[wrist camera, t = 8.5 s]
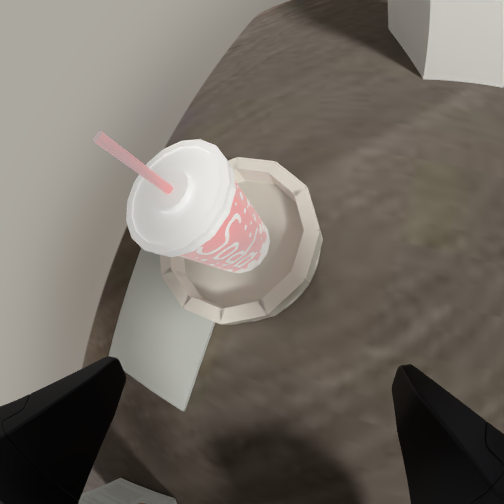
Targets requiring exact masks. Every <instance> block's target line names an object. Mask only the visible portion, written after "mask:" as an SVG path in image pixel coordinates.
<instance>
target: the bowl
mask: <svg viewBox="0 0 504 504" xmlns="http://www.w3.org/2000/svg"><path fill="white" fill-rule="evenodd" d="M228 162H229V164H230V165H231V167H232V168H233V172H234V179H235V181H236V183H237V184H238V186H239V187H240V189H241V190H242V192H243V193H244V195H245V196H246V198H247V199H248V201H249V202H250V204H251V205H252V207H253V208H254V210H255V211H256V213H257V214H258V216H259V217H260V219H261V220H262V222H263V223H264V225H265V226H266V228H267V229H268V233H269V238H270V244H269V248H268V253H267V255H266V256H265V257H264V259H263V260H262V262H261V263H260V264H259V265H258V266H256V267H255V268H253V269H252V270H251V271H247V272H242V273H235V272H230V271H226V270H222V269H219V268H216V267H212V266H209V265H206V264H203V263H199V262H196V261H193V260H190V259H186V258H183V257H180V256H175V257H169V256H164V255H160V265H161V275H162V277H163V279H164V280H165V282H166V284H167V285H168V287H169V288H170V290H171V291H172V293H173V294H174V296H175V298H176V299H177V301H178V302H179V304H180V305H181V307H183V308H184V309H186V310H188V311H190V312H193V313H195V314H197V315H199V316H202V317H204V318H206V319H209V320H211V321H214V322H216V323H218V324H239V323H244V322H252V321H259V320H263V319H266V318H269V317H273V316H274V315H277V314H278V313H280V312H282V311H283V310H285V309H286V308H288V307H289V306H290V305H291V304H293V303H294V302H295V301H296V300H297V299H298V298H299V297H300V296H301V295H302V294H303V293H304V291H305V290H306V288H307V287H308V286H309V284H310V282H311V280H312V278H313V277H314V275H315V272H316V269H317V267H318V264H319V259H320V254H321V245H322V241H323V237H322V234H321V230H320V227H319V222H318V219H317V216H316V213H315V209H314V206H313V203H312V199H311V196H310V193H309V191H308V188H307V186H306V185H305V184H303V183H302V182H301V181H300V180H298V179H297V178H296V177H295V176H294V175H292V174H291V173H290V172H289V171H287V170H286V169H285V168H284V167H282V166H281V165H280V164H278V163H277V162H275V161H268V160H260V159H251V158H241V157H238V158H237V157H236V158H234V159H231V160H228Z"/></svg>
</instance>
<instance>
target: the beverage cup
mask: <svg viewBox="0 0 504 504" xmlns="http://www.w3.org/2000/svg"><path fill="white" fill-rule="evenodd" d="M93 142H95V143H96V144H98V145H99V146H100V147H102V148H103V149H105V150H106V151H107V152H109V153H110V154H111V155H113V156H114V157H116V158H117V159H118V160H120V161H121V162H123V163H124V164H125V165H127V166H128V167H130V168H131V169H132V170H134V171H135V172H137V173H138V174H139V175H138V177H137V178H136V180H135V181H134V184H133V186H132V189H131V192H130V195H129V197H128V201H127V213H126V222H127V225H128V228H129V232H130V235H131V238H132V239H133V240H134V241H135V242H136V243H137V244H138V245H139V246H140V247H141V248H142V249H144V250H145V251H148V252H153V253H154V254H159V255H164V256H169V257H175V256H180V257H183V258H186V259H190V260H193V261H196V262H199V263H203V264H206V265H209V266H212V267H216V268H219V269H222V270H226V271H230V272H235V273H242V272H247V271H251V270H252V269H253V268H255V267H256V266H258V265H259V264H260V263H261V262H262V260H263V259H264V257H265V256H266V255H267V253H268V248H269V244H270V238H269V233H268V229H267V228H266V226H265V225H264V223H263V222H262V220H261V219H260V217H259V216H258V214H257V213H256V211H255V210H254V208H253V207H252V205H251V204H250V202H249V201H248V199H247V198H246V196H245V195H244V193H243V192H242V190H241V189H240V187H239V186H238V184H237V183H236V181H235V179H234V172H233V168H232V167H231V165H230V164H229V162H228V161H227V159H226V158H225V157H224V155H223V154H222V153H221V151H220V150H219V149H218V147H217V146H216V145H213V144H211V143H208V142H206V141H203V140H200V139H198V140H186V141H180V142H178V143H176V144H174V145H171V146H169V147H167V148H165V149H163V150H162V151H161V152H159V153H158V154H157V155H156V156H155V157H154V158H152V160H150V161H149V162H148V163H147V164H146V165H145V164H143V163H142V162H141V161H139V160H138V159H137V158H135V157H134V156H133V155H132V154H130V153H129V152H128V151H126V150H125V149H124V148H123V147H121V146H120V145H119V144H117V143H116V142H115V141H113V140H112V139H111V138H109V137H108V136H107V135H106V134H104V133H103V132H102V131H99V132H98V133H97V134H96V135H95V137H94V139H93Z"/></svg>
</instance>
